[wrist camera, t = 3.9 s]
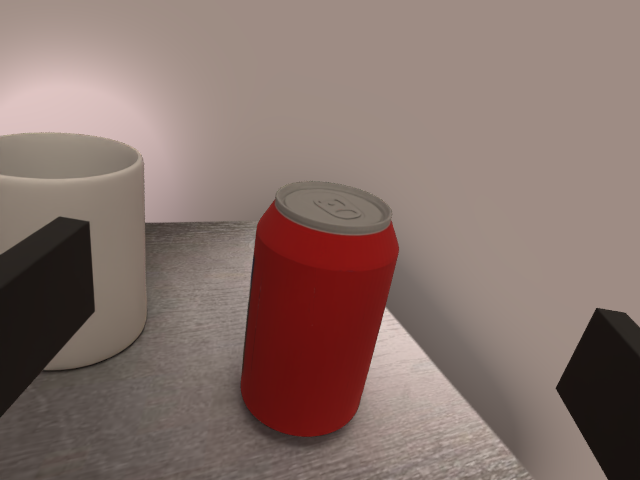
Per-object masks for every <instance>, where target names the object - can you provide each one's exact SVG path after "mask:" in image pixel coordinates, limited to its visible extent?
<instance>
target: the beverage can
mask: <svg viewBox="0 0 640 480" xmlns="http://www.w3.org/2000/svg"><path fill="white" fill-rule="evenodd" d="M391 218H392V210H391V208H390V207H389V206H388V204H386V203H385V202H384V201H383V200H381V199H380V198H378V197H376V196H375V195H373V194H370V193H368V192H366V191H363V190H360V189H357V188H353V187H350V186H346V185H341V184H335V183H329V182H315V181H314V182H313V181H309V182H308V181H307V182H296V183H291V184H288V185H285V186H283V187H281V188H280V189H279V190H278V191H277V193H276V197H275V200H274V201H273V203H272V204H271V205H270V207H269V208H268V209H267V211H266V212H265V213H264V215H263V216H262V217H261V219H260V220H259V222H258V225H257V231H256V239H255V248H254V256H253V265H252V274H251V283H250V292H249V302H248V311H247V322H246V332H245V342H244V353H243V364H242V376H241V393H242V397H243V400H244V402H245V404H246V406H247V408H248V409H249V411H250V412H251V413H252V414H253V415H254V416H255V417H256V418H257V419H258V420H259V421H261V422H262V423H263V424H265V425H266V426H268V427H270V428H272V429H274V430H276V431H279V432H281V433H285V434H289V435H293V436H302V437H312V436H320V435H325V434H328V433H332V432H334V431H336V430H338V429H340V428H342V427H343V426H345V425H346V424H347V423H348V422H349V421H350V420H351V419H352V418H353V416H354V415H355V413H356V412H357V409H358V407H359V403H360V400H361V396H362V392H363V389H364V385H365V382H366V378H367V374H368V371H369V367H370V363H371V359H372V356H373V352H374V348H375V344H376V340H377V336H378V333H379V329H380V325H381V321H382V317H383V313H384V310H385V306H386V302H387V297H388V294H389V289H390V286H391V281H392V277H393V273H394V269H395V265H396V261H397V257H398V253H399V246H398V242H397V238H396V235H395V231H394V228H393V225H392V221H391Z"/></svg>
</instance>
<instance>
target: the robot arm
mask: <svg viewBox="0 0 640 480" xmlns="http://www.w3.org/2000/svg"><path fill="white" fill-rule="evenodd" d="M94 312H95V301H94V285H93V269H92V253H91V237H90V221H84V220H79V219H73V218H67V217H61V216H59V217H57V218H56V219H54V220H53V221H51V222H50V223H48V224H47V225H45V226H44V227H42V228H41V229H39V230H37V231H36V232H34V233H33V234H31V235H30V236H28V237H27V238H25V239H24V240H22V241H21V242H19V243H18V244H16V245H14V246H13V247H11V248H10V249H8V250H7V251H5V252H4V253H2V254H1V255H0V417H1V416H2V415H3V414H4V413H5V412H6V411H7V409H8V408H9V407H10V406H11V405H12V404H13V403H14V402H15V401H16V399H17V398H18V397H19V396H20V395H21V394H22V393H23V392H24V390H25V389H26V388H27V387H28V386H29V385H30V384H31V383H32V381H33V380H34V379H35V378H36V377H37V376H38V375H39V374H40V372H41V371H42V370H43V369H44V368H45V367H46V366H47V365H48V364H49V362H50V361H51V360H52V359H53V358H54V357H55V356H56V355H57V353H58V352H59V351H60V350H61V349H62V348H63V347H64V346H65V344H66V343H67V342H68V341H69V340H70V339H71V338H72V337H73V336H74V334H75V333H76V332H77V331H78V330H79V329H80V328H81V327H82V325H83V324H84V323H85V322H86V321H87V320H88V319H89V318H90V316H91V315H92V314H93V313H94ZM556 389H557V392H558V393H559V395H560V397H561V398H562V400H563V402H564V404H565V405H566V407H567V409H568V411H569V412H570V414H571V416H572V418H573V419H574V421H575V423H576V424H577V426H578V428H579V430H580V432H581V433H582V435H583V437H584V439H585V440H586V442H587V444H588V445H589V447H590V449H591V451H592V453H593V454H594V456H595V458H596V459H597V461H598V463H599V465H600V466H601V468H602V470H603V471H604V473H605V475H606V477H607V479H608V480H640V327H639V326H638V325H637V324H636V323H635V322H634V321H633V320H632V319H631V318H630V317H629V316H628V315H627V314H626V313H623V312H618V311H612V310H605V309H600V308H596V310H595V312H594V314H593V316H592V318H591V320H590V322H589V324H588V326H587V328H586V330H585V332H584V333H583V335H582V338H581V340H580V341H579V343H578V345H577V347H576V349H575V351H574V353H573V355H572V357H571V359H570V361H569V363H568V365H567V367H566V369H565V371H564V373H563V375H562V377H561V379H560V381H559V383H558V385H557V387H556Z"/></svg>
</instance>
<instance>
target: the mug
mask: <svg viewBox="0 0 640 480" xmlns="http://www.w3.org/2000/svg"><path fill="white" fill-rule="evenodd" d="M144 201H145V200H144V162H143V158H142V155H141V154H140V153H139V152H138V151H137V150H136V149H135V148H133V147H131V146H129V145H126V144H124V143H121V142H118V141H115V140H111V139H106V138H102V137H97V136H90V135H82V134H70V133H21V134H11V135H3V136H0V255H1V254H2V253H4V252H5V251H7V250H8V249H10V248H11V247H13V246H14V245H16V244H18V243H19V242H21V241H22V240H24V239H25V238H27V237H28V236H30V235H31V234H33V233H34V232H36V231H37V230H39V229H41V228H42V227H44V226H45V225H47V224H48V223H50V222H51V221H53V220H54V219H56V218H57V217H59V216H61V217H67V218H73V219H79V220H84V221H90V237H91V253H92V269H93V285H94V301H95V312H94V313H93V314H92V315H91V316H90V318H89V319H88V320H87V321H86V322H85V323H84V324H83V325H82V327H81V328H80V329H79V330H78V331H77V332H76V333H75V334H74V336H73V337H72V338H71V339H70V340H69V341H68V342H67V343H66V344H65V346H64V347H63V348H62V349H61V350H60V351H59V352H58V353H57V355H56V356H55V357H54V358H53V359H52V360H51V361H50V362H49V364H48V365H47V366H46V367H45V368H44V369H43V370H65V369H73V368H79V367H83V366H87V365H91V364H94V363H97V362H100V361H103V360H105V359H107V358H110V357H112V356H114V355H116V354H117V353H119V352H121V351H122V350H124V349H125V348H127V347H128V346H129V345H130V344H132V343H133V342H134V340H135V339H136V338H137V337H138V336H139V335H140V333H141V332H142V330H143V328H144V326H145V322H146V318H147V295H146V269H145V204H144Z"/></svg>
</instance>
